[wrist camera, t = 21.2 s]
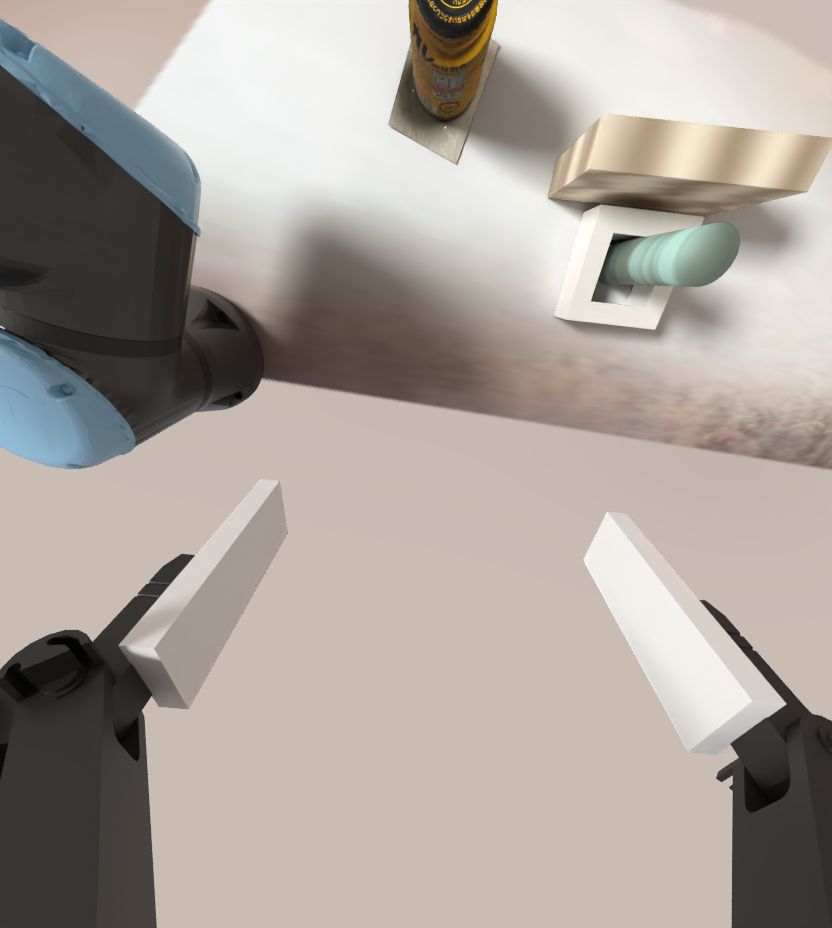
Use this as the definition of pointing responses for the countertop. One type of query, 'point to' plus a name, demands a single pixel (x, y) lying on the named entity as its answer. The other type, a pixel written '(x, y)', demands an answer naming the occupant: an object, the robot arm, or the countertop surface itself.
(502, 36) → the countertop surface
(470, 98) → the condiment
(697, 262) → the dowel
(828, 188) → the countertop surface
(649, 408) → the countertop surface
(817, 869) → the robot arm
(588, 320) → the socket block
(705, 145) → the wall
